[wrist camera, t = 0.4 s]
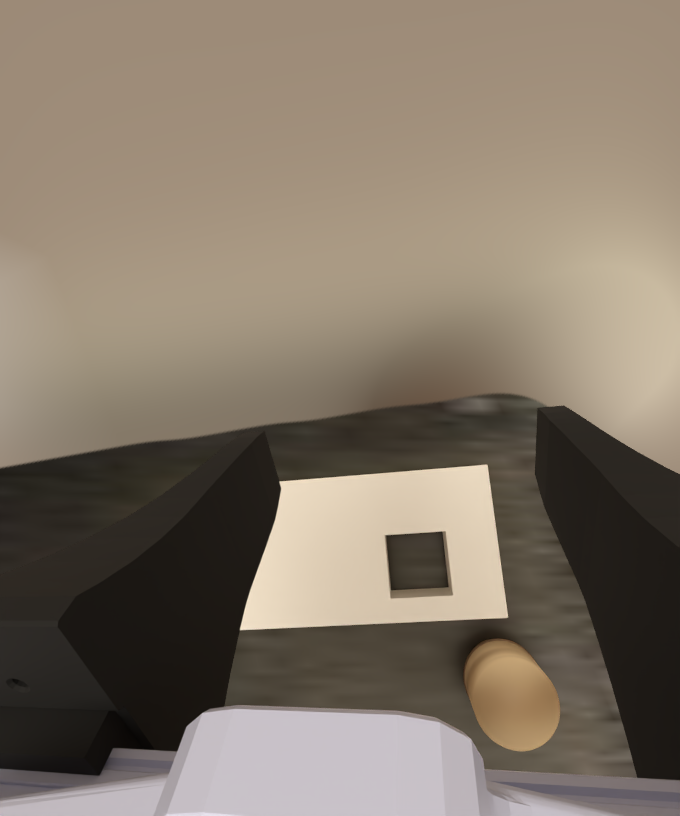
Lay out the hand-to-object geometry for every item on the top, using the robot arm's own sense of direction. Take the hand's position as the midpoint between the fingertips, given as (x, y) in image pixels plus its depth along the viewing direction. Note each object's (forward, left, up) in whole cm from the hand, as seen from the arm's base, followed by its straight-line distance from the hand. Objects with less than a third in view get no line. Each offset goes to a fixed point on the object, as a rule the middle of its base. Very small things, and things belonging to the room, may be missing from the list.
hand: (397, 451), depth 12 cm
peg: (-15, -6, -27) cm, 31 cm away
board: (-5, +3, -27) cm, 28 cm away
